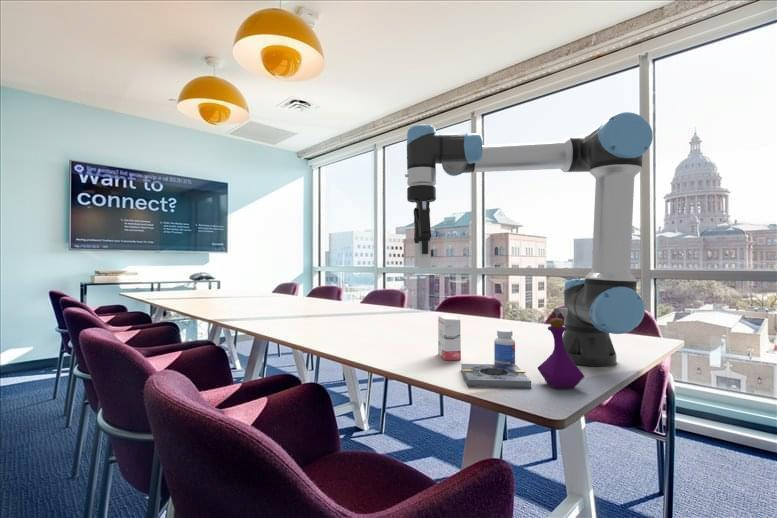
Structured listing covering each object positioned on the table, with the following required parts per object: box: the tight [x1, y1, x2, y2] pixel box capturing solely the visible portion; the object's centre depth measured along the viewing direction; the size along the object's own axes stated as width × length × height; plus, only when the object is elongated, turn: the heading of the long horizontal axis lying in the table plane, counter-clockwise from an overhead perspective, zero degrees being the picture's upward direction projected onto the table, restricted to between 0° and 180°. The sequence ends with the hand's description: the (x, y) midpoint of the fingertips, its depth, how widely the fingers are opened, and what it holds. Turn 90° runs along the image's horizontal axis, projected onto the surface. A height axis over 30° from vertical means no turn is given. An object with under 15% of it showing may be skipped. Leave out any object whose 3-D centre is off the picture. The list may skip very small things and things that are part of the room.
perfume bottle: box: [537, 307, 585, 390], centre depth 93 cm, size 8×8×18 cm
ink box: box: [437, 315, 462, 361], centre depth 120 cm, size 9×5×12 cm, turn 7°
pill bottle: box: [493, 328, 516, 365], centre depth 110 cm, size 6×5×10 cm
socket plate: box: [461, 363, 532, 389], centre depth 99 cm, size 15×14×2 cm
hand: (421, 267), depth 107 cm, fingers open, 13 cm apart
